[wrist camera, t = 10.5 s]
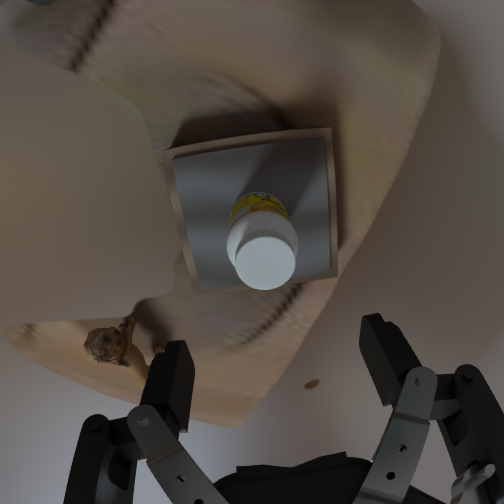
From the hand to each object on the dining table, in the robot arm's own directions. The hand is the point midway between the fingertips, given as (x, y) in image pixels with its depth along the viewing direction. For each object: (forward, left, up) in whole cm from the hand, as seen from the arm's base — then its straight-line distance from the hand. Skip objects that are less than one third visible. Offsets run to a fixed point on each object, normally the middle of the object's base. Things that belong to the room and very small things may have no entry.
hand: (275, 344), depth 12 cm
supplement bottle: (0, 0, -17) cm, 17 cm away
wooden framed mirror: (0, 0, -21) cm, 21 cm away
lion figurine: (+17, -20, -21) cm, 34 cm away
